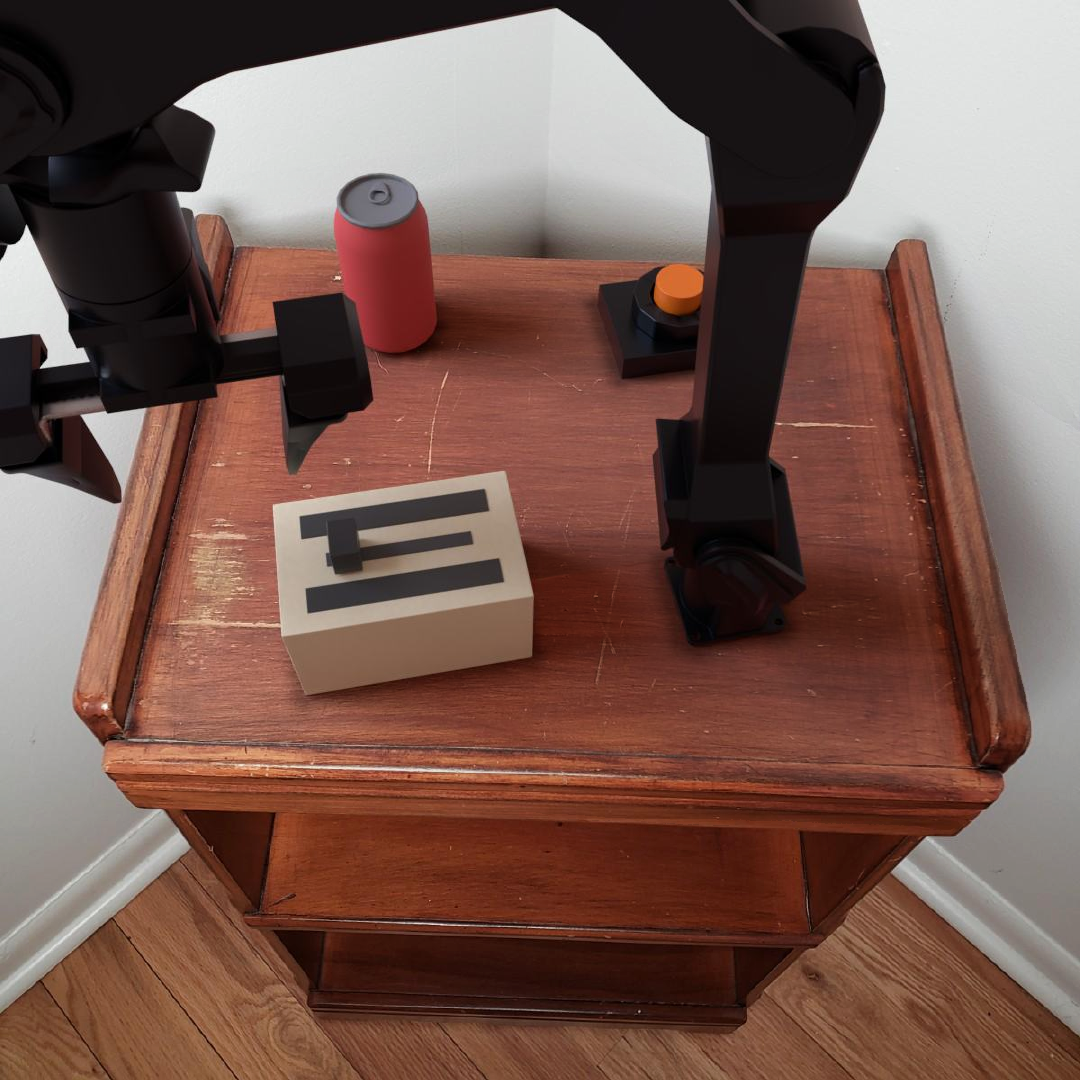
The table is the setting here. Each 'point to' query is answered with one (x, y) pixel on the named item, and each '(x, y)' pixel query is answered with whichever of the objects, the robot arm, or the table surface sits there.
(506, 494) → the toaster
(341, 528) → the slider
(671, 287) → the button
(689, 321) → the control block
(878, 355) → the table surface
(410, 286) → the beer can
